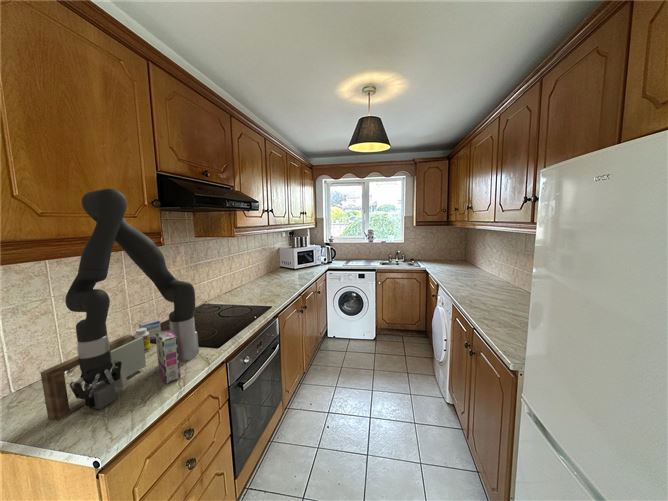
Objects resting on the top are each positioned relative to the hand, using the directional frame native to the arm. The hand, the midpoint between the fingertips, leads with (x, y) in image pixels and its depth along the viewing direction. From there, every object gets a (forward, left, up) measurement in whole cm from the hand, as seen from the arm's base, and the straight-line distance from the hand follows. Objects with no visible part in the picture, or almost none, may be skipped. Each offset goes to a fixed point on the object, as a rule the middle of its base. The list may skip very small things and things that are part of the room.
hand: (101, 400), depth 87 cm
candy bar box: (-19, +8, -2) cm, 20 cm away
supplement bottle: (-32, -20, -2) cm, 37 cm away
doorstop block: (0, 0, -1) cm, 1 cm away
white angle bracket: (-13, -3, 0) cm, 13 cm away
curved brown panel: (-5, -7, -1) cm, 9 cm away
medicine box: (-43, -28, -2) cm, 51 cm away
